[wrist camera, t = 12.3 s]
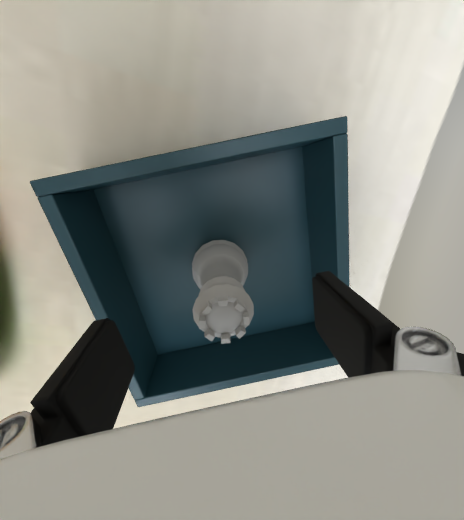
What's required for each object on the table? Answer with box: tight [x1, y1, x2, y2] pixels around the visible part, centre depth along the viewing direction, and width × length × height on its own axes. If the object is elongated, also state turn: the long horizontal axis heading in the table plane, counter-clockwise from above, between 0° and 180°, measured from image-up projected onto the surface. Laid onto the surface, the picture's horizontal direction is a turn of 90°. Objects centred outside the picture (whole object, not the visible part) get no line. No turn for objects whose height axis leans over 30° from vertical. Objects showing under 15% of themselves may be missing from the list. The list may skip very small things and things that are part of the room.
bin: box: [30, 116, 349, 407], centre depth 17 cm, size 17×17×5 cm
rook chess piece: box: [192, 240, 254, 344], centre depth 15 cm, size 4×4×8 cm
